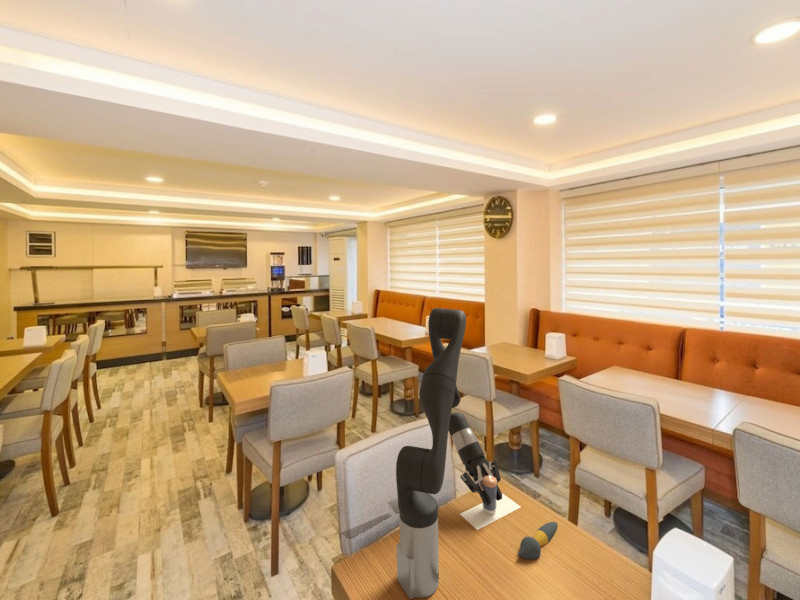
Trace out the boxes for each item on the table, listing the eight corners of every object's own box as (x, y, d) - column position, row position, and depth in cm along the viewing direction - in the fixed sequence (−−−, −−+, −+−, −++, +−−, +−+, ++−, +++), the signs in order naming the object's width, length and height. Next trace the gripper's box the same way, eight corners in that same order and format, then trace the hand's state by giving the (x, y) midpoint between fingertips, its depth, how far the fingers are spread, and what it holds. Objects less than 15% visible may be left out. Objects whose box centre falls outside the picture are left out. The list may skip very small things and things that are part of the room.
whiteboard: (476, 537, 99) (476, 532, 99) (455, 518, 107) (455, 513, 107) (525, 511, 109) (525, 507, 109) (503, 495, 117) (503, 491, 117)
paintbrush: (543, 521, 105) (543, 505, 105) (560, 529, 102) (561, 513, 101) (513, 563, 91) (513, 545, 90) (532, 574, 87) (532, 555, 87)
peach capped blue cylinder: (489, 517, 105) (489, 485, 104) (479, 509, 108) (480, 478, 107) (499, 512, 107) (499, 481, 106) (489, 504, 110) (490, 474, 109)
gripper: (455, 447, 109) (483, 507, 99) (489, 435, 116) (518, 490, 107) (444, 456, 114) (470, 514, 104) (478, 444, 121) (504, 497, 112)
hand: (494, 501), depth 106 cm, fingers closed on peach capped blue cylinder, 4 cm apart
